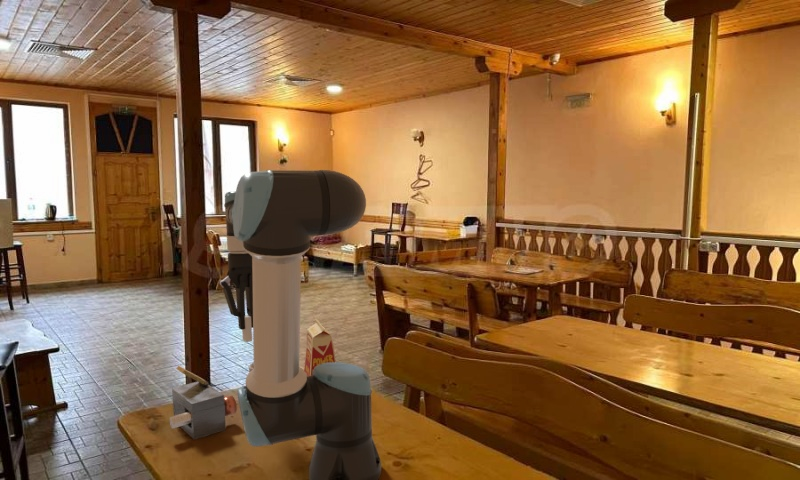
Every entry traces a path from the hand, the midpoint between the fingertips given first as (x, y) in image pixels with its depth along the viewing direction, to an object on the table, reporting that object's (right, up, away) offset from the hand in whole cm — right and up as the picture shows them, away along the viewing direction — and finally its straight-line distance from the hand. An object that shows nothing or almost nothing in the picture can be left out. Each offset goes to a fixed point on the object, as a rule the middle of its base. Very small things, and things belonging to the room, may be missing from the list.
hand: (247, 340), depth 144 cm
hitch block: (-11, -21, -3) cm, 24 cm away
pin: (-9, -19, -7) cm, 22 cm away
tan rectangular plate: (-14, -9, -1) cm, 17 cm away
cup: (-1, -19, +18) cm, 26 cm away
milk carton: (+16, -18, +23) cm, 33 cm away
